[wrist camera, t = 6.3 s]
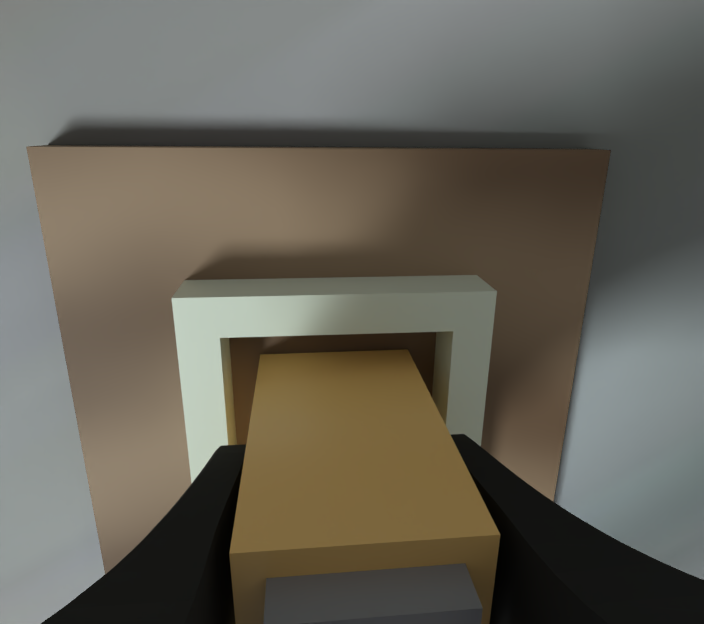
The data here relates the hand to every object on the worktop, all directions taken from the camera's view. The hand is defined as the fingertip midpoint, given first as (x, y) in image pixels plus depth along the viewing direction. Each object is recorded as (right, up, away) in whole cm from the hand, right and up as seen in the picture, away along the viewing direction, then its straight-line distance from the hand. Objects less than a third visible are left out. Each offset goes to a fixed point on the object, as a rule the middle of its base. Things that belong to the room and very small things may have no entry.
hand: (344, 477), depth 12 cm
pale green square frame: (0, +1, +4) cm, 4 cm away
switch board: (0, -4, +6) cm, 7 cm away
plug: (0, +1, +3) cm, 3 cm away
